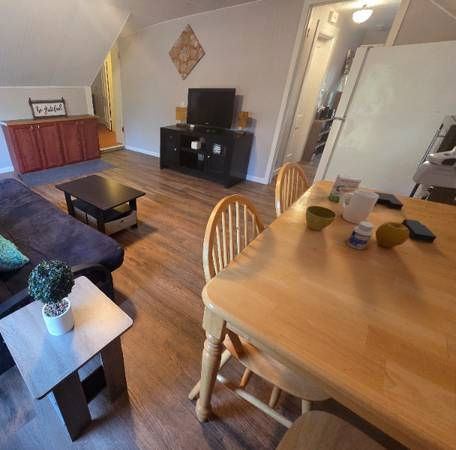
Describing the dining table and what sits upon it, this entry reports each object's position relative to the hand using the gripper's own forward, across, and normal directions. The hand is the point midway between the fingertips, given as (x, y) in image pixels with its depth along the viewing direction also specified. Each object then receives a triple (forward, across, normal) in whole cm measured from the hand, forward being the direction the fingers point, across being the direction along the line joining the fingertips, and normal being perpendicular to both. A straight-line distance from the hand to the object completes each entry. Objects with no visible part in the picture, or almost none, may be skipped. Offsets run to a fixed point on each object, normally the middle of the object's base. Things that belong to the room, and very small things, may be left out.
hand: (440, 198), depth 86 cm
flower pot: (+16, +36, +9) cm, 40 cm away
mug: (+16, +21, -6) cm, 27 cm away
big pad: (+15, +4, -29) cm, 33 cm away
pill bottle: (+16, +24, +17) cm, 33 cm away
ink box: (+16, +21, -24) cm, 35 cm away
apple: (+16, +14, +13) cm, 24 cm away
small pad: (+15, 0, -2) cm, 15 cm away
